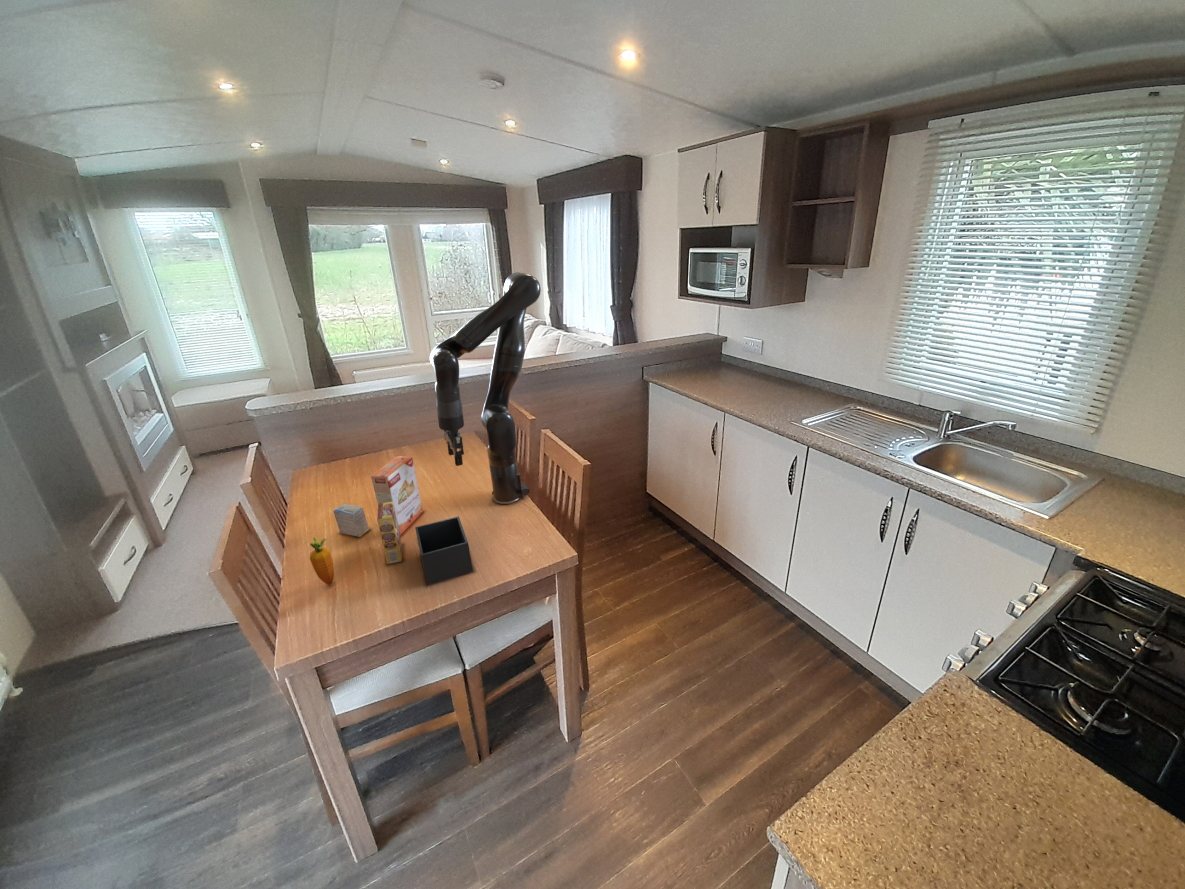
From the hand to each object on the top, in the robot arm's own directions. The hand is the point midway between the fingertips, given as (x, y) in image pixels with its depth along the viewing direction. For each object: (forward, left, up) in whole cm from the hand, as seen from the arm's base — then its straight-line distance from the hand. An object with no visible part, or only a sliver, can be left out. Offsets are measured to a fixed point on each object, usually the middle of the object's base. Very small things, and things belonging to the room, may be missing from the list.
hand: (455, 459), depth 153 cm
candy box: (+23, +16, -19) cm, 34 cm away
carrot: (+40, +22, -19) cm, 49 cm away
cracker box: (+19, 0, -19) cm, 27 cm away
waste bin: (+10, +27, -19) cm, 34 cm away
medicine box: (+34, -2, -19) cm, 39 cm away
